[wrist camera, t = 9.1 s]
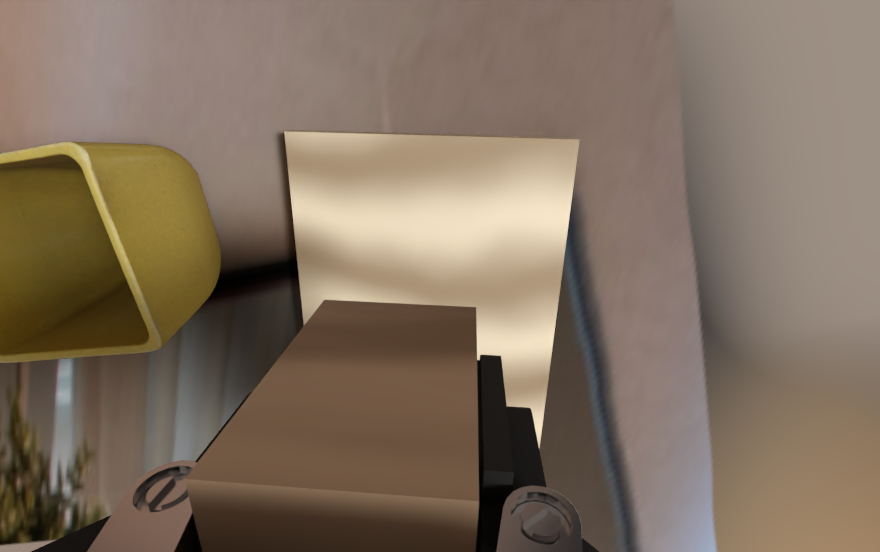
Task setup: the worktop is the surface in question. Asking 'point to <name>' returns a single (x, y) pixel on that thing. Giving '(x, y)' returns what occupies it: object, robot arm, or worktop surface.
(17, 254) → the flower pot
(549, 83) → the worktop surface
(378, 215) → the board
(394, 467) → the block on grey plate
